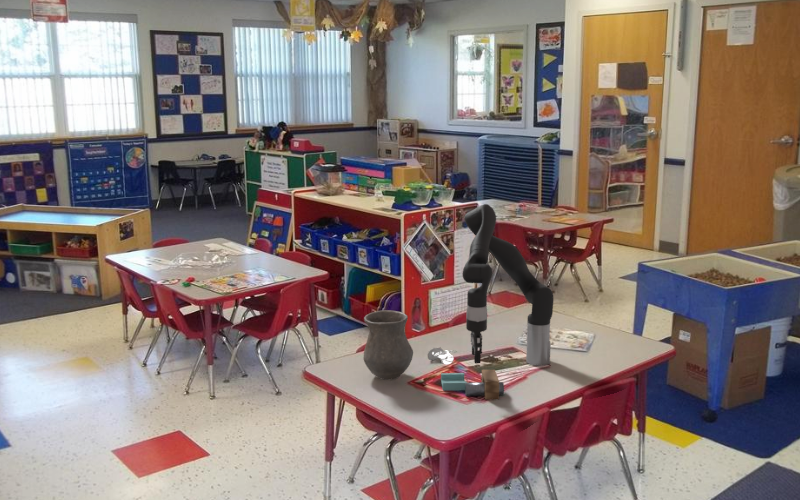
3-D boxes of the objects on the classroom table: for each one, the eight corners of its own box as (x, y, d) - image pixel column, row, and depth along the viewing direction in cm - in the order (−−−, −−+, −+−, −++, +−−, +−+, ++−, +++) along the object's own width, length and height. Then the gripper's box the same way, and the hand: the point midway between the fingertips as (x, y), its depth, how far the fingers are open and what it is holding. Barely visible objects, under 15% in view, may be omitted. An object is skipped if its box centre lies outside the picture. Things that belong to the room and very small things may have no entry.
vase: (402, 388, 295) (402, 326, 290) (356, 382, 302) (355, 321, 296) (419, 370, 313) (419, 311, 308) (375, 365, 320) (374, 307, 314)
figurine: (441, 345, 330) (459, 348, 320) (442, 360, 330) (460, 363, 321) (424, 348, 325) (442, 351, 315) (425, 363, 325) (443, 366, 315)
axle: (501, 391, 292) (502, 379, 291) (503, 397, 287) (504, 385, 286) (464, 392, 292) (465, 380, 290) (466, 398, 287) (466, 386, 286)
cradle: (463, 380, 303) (464, 373, 302) (466, 390, 293) (466, 382, 293) (441, 380, 303) (441, 373, 302) (442, 390, 293) (442, 383, 293)
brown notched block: (494, 386, 296) (494, 369, 295) (498, 399, 285) (499, 381, 283) (481, 386, 296) (481, 369, 295) (485, 399, 285) (485, 381, 283)
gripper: (464, 311, 290) (464, 352, 293) (468, 323, 276) (467, 366, 279) (484, 311, 290) (483, 352, 294) (489, 322, 276) (488, 365, 280)
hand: (476, 359), depth 286 cm, fingers open, 8 cm apart
